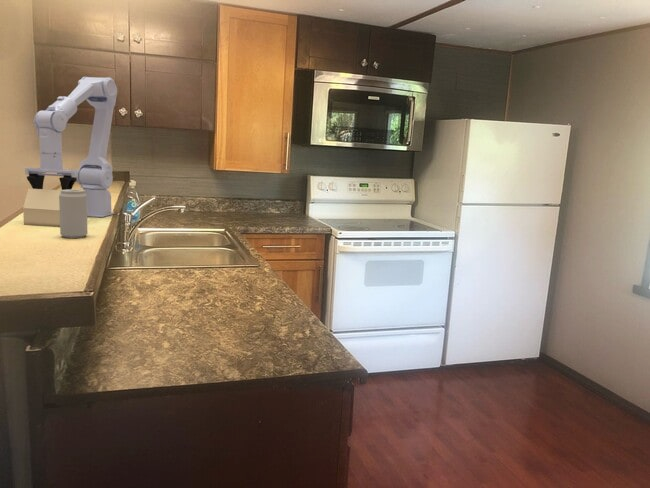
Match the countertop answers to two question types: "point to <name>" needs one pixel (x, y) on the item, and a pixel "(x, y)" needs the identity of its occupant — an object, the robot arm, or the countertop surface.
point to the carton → (41, 217)
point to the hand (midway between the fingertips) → (52, 201)
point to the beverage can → (73, 213)
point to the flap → (42, 199)
